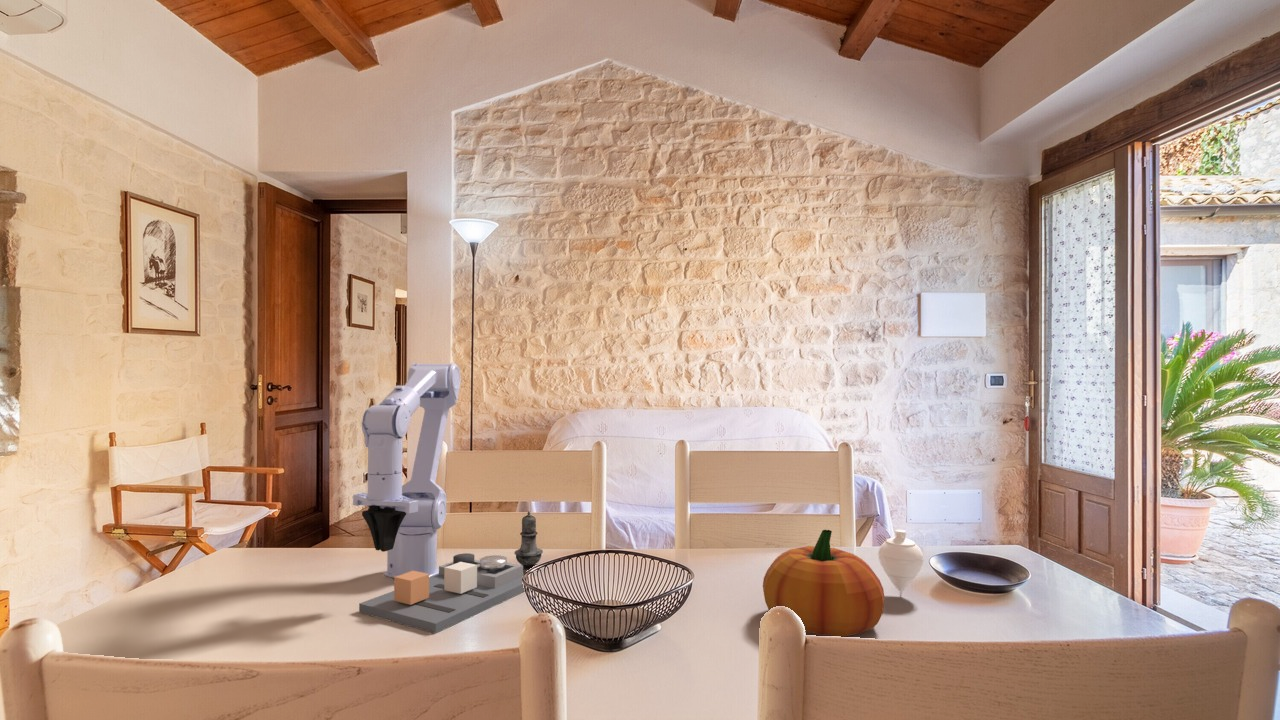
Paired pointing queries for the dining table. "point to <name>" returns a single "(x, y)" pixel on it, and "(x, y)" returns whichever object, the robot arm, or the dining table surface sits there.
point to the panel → (449, 600)
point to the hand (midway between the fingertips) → (384, 549)
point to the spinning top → (900, 560)
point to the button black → (464, 558)
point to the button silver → (493, 563)
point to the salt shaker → (528, 544)
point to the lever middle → (460, 577)
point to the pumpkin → (825, 589)
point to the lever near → (411, 587)
